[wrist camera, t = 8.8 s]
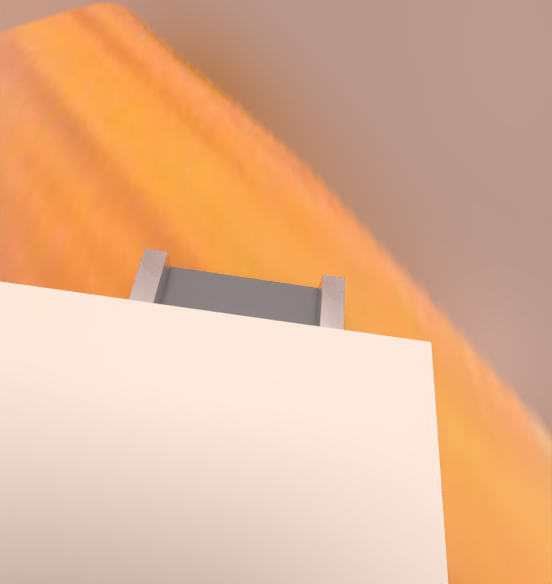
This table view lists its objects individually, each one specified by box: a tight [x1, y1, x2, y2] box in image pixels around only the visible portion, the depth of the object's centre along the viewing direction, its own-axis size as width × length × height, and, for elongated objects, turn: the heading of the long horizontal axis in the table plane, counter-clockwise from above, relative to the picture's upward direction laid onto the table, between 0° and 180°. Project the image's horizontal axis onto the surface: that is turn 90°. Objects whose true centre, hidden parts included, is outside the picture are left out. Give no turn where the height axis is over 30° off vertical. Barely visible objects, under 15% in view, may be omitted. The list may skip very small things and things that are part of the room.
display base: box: [129, 249, 345, 330], centre depth 20 cm, size 13×11×3 cm
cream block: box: [0, 282, 448, 584], centre depth 9 cm, size 6×6×12 cm
